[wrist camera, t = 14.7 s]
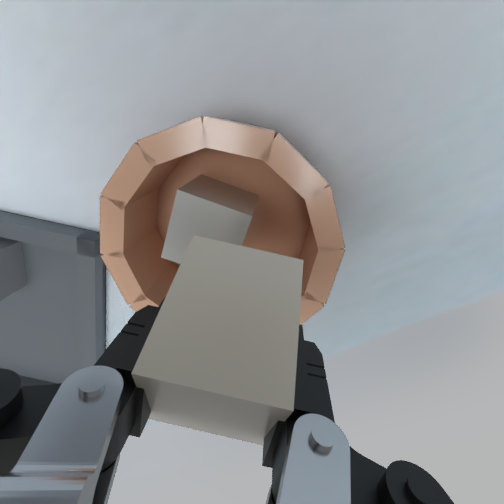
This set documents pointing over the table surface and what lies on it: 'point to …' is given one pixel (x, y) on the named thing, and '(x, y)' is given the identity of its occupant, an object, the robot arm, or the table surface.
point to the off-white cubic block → (225, 342)
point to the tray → (53, 302)
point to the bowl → (230, 172)
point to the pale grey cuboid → (207, 215)
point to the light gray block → (11, 267)
